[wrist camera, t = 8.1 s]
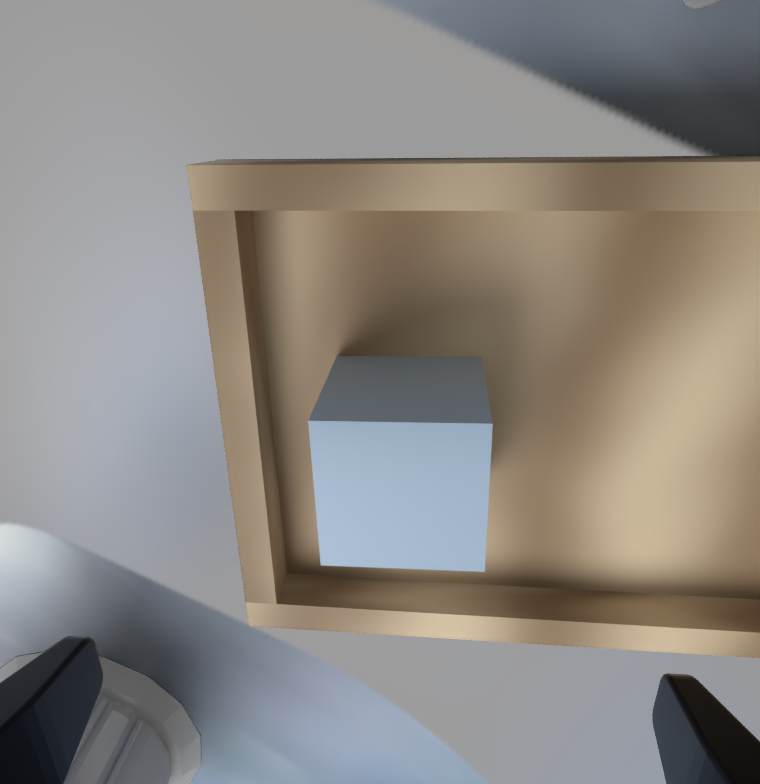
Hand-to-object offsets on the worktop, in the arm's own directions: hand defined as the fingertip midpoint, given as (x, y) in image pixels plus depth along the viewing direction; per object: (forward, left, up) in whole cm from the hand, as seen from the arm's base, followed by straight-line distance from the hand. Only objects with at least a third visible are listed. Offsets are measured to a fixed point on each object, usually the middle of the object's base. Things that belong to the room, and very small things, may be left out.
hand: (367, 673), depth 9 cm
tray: (-5, 0, -10) cm, 11 cm away
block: (0, 0, -9) cm, 9 cm away
